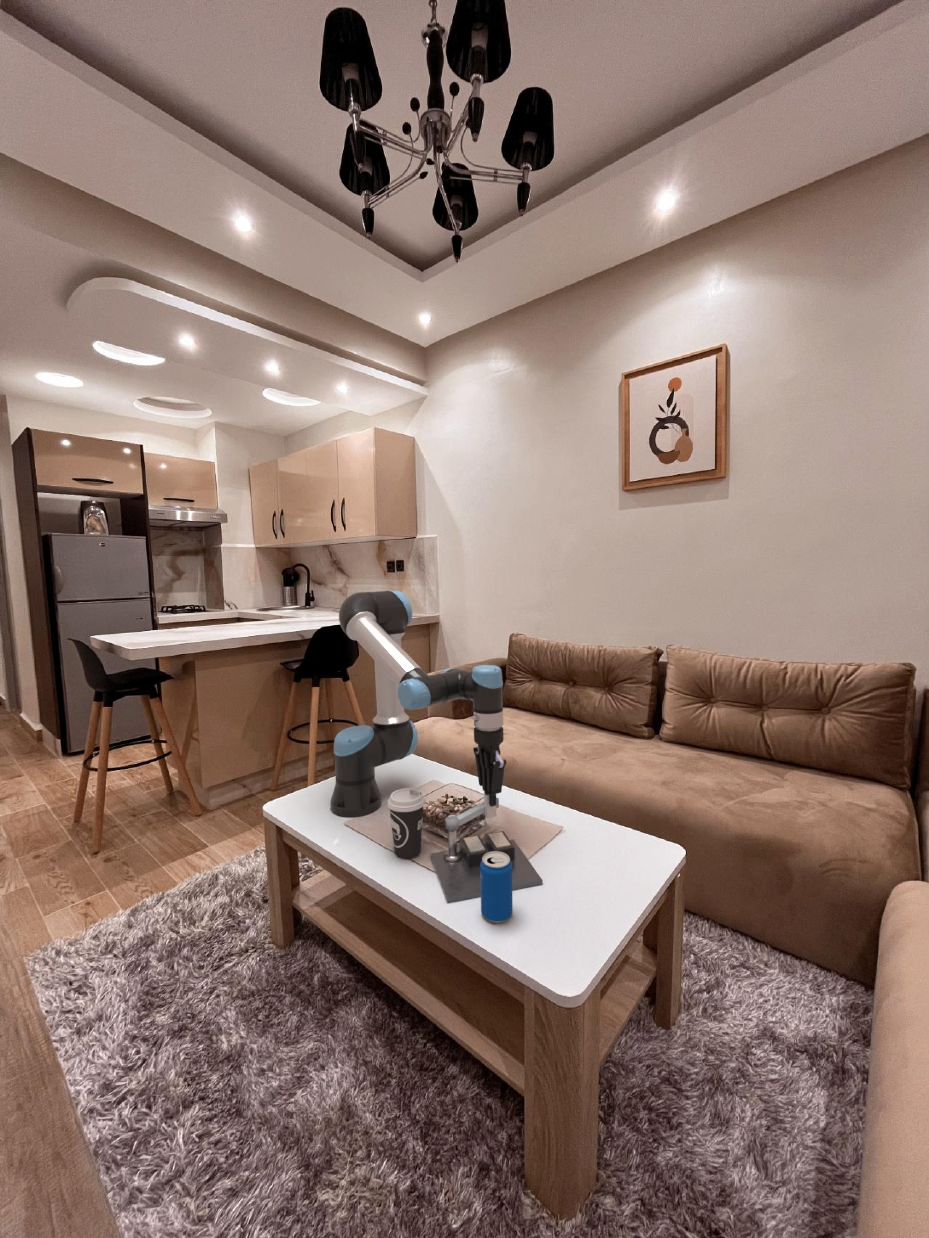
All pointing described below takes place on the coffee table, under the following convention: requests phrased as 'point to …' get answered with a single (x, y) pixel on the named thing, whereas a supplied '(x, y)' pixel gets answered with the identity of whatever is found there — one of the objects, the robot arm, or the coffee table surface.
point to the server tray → (478, 865)
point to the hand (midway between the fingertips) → (490, 816)
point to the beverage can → (496, 886)
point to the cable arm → (466, 816)
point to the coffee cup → (406, 821)
